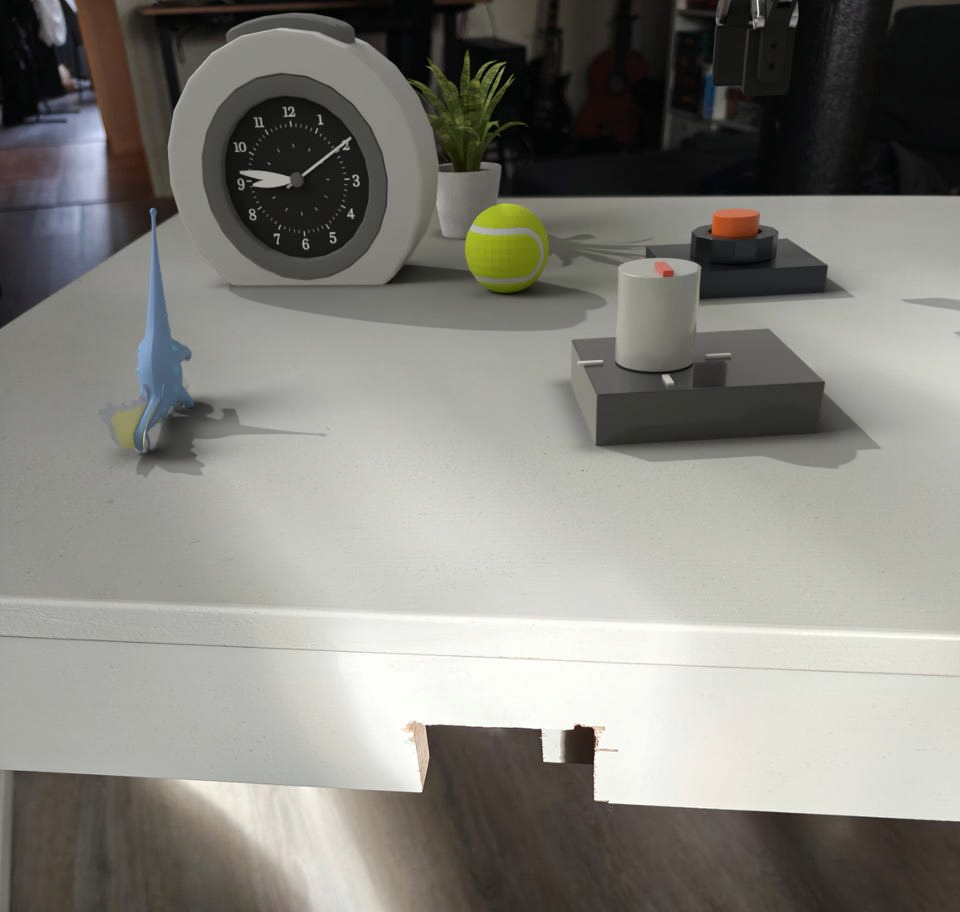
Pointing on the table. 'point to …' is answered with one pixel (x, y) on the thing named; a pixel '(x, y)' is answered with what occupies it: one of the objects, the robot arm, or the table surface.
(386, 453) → the table surface
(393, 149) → the alarm clock
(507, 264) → the tennis ball
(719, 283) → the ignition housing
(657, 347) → the hob knob
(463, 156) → the house plant
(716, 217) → the button
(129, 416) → the dinosaur figurine
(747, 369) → the dark grey knob base
